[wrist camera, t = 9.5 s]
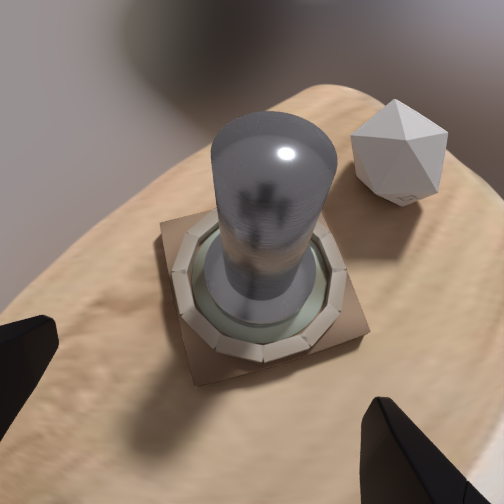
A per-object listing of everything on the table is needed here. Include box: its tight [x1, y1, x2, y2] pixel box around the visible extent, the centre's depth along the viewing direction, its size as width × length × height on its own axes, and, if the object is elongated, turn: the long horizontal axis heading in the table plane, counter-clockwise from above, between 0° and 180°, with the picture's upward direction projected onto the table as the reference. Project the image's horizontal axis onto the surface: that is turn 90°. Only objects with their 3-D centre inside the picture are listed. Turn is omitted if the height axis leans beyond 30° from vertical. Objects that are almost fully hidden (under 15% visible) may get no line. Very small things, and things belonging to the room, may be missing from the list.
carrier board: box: [160, 207, 370, 386], centre depth 22 cm, size 12×12×2 cm
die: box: [350, 99, 448, 207], centre depth 24 cm, size 8×9×10 cm
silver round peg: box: [204, 111, 337, 328], centre depth 16 cm, size 7×7×12 cm
